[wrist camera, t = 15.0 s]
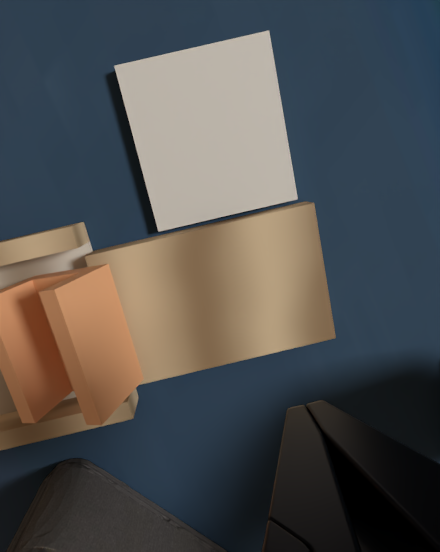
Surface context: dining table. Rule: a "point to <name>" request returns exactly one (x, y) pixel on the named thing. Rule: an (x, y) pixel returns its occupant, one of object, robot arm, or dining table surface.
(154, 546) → the camera
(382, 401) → the dining table surface
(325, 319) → the rail
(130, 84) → the pad
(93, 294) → the clip
